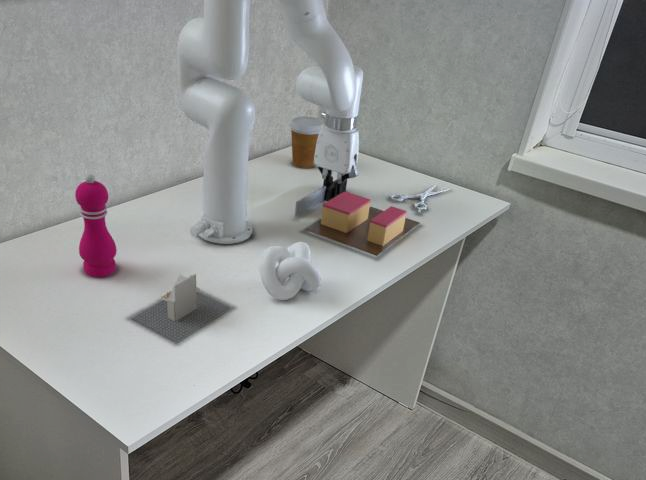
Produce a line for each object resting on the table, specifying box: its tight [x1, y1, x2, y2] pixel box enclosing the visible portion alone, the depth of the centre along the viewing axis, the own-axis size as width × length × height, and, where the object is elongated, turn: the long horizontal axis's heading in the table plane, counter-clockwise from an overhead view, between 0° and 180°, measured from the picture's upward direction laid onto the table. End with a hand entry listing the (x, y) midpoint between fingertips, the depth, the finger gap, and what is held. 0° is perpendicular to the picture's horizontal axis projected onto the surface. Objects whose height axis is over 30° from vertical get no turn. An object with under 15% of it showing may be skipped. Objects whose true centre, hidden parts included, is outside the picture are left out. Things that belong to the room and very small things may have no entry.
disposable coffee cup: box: [289, 116, 324, 169], centre depth 179 cm, size 10×10×12 cm
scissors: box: [389, 184, 450, 213], centre depth 167 cm, size 11×1×20 cm
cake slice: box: [367, 205, 408, 246], centre depth 145 cm, size 10×4×5 cm, turn 143°
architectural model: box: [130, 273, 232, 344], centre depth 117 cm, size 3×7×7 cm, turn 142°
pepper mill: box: [74, 173, 117, 278], centre depth 124 cm, size 7×7×20 cm
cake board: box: [303, 205, 421, 257], centre depth 151 cm, size 22×19×1 cm
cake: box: [320, 190, 372, 233], centre depth 150 cm, size 10×7×5 cm
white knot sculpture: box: [259, 241, 322, 301], centre depth 124 cm, size 11×12×9 cm
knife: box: [294, 179, 348, 218], centre depth 159 cm, size 22×2×4 cm, turn 144°
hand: (332, 194), depth 164 cm, fingers closed on knife, 2 cm apart
